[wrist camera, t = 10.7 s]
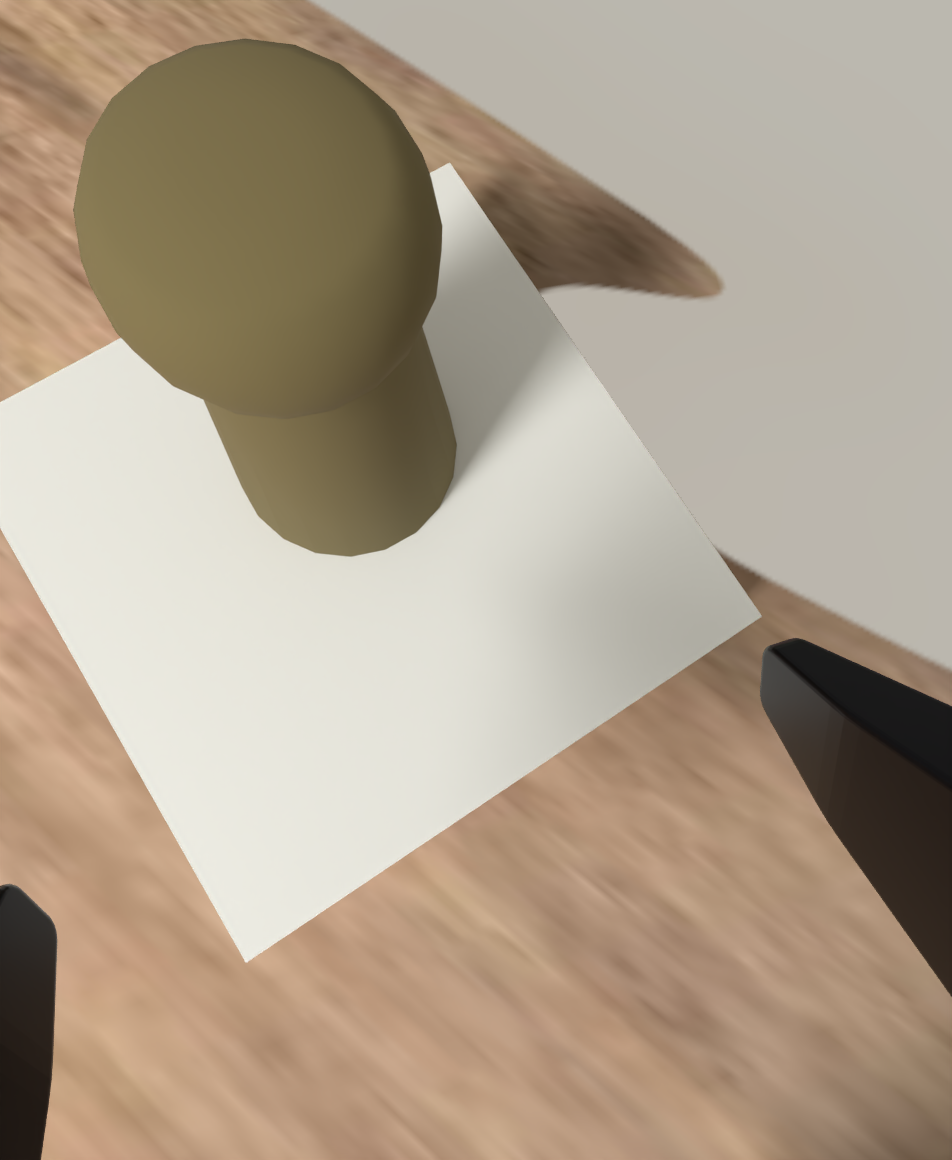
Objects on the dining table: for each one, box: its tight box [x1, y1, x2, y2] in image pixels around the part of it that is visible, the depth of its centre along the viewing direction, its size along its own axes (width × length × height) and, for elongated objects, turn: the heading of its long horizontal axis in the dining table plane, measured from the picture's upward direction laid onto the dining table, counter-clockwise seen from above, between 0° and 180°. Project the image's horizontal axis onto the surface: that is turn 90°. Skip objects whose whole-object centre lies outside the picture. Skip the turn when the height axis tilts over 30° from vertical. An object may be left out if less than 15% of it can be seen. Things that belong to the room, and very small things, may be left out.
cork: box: [73, 39, 457, 557], centre depth 15 cm, size 6×6×11 cm
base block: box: [0, 163, 762, 962], centre depth 21 cm, size 16×16×3 cm
